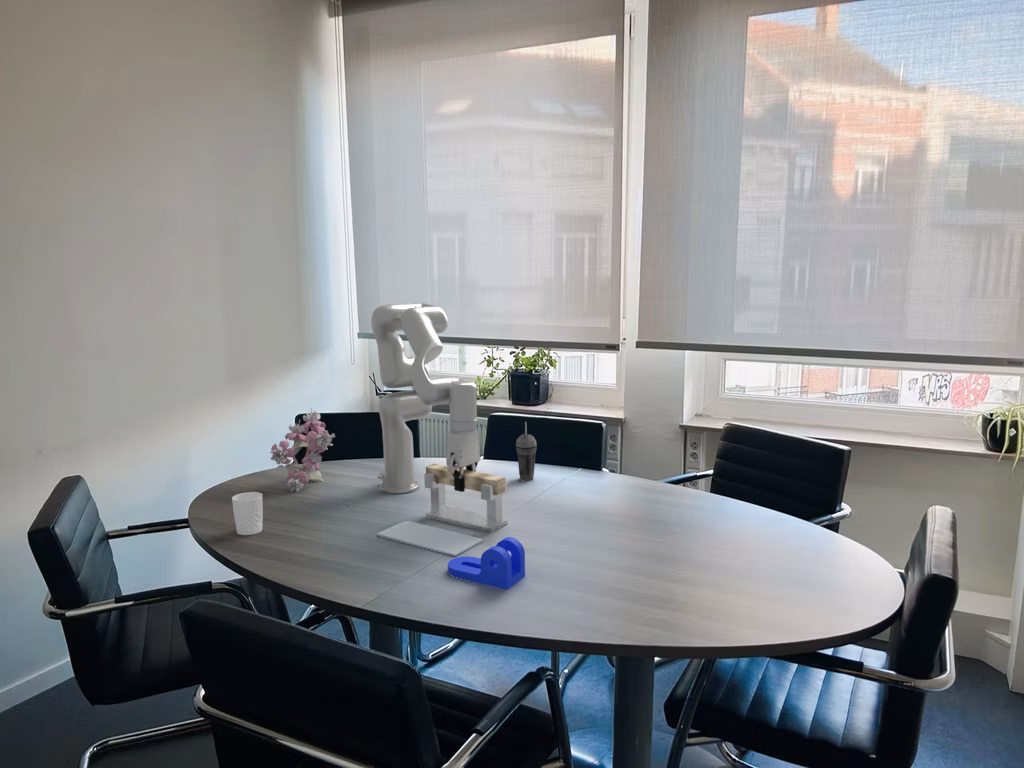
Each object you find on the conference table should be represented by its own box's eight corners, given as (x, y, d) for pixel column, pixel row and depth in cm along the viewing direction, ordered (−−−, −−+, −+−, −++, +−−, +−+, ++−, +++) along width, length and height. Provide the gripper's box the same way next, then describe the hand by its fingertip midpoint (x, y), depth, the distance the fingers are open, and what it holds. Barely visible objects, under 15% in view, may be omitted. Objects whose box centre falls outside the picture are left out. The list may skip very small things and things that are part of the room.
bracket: (525, 576, 170) (524, 539, 168) (507, 590, 162) (506, 552, 161) (460, 562, 178) (459, 527, 177) (441, 574, 171) (440, 538, 170)
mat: (376, 535, 196) (376, 533, 196) (406, 522, 206) (406, 520, 206) (455, 556, 181) (455, 554, 181) (483, 541, 191) (483, 539, 191)
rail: (426, 480, 210) (425, 466, 210) (434, 476, 214) (434, 463, 213) (496, 495, 197) (496, 481, 196) (505, 491, 200) (505, 477, 199)
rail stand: (425, 517, 210) (424, 473, 207) (443, 509, 216) (442, 467, 214) (490, 532, 197) (490, 486, 195) (507, 523, 203) (506, 479, 201)
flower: (250, 479, 244) (256, 419, 231) (307, 458, 260) (315, 402, 248) (284, 515, 234) (292, 454, 222) (341, 491, 251) (352, 433, 238)
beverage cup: (538, 476, 249) (537, 419, 246) (536, 482, 242) (536, 423, 238) (516, 475, 250) (516, 418, 246) (514, 482, 242) (514, 423, 239)
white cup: (271, 528, 202) (268, 493, 201) (250, 538, 195) (247, 502, 194) (249, 524, 206) (247, 490, 204) (228, 534, 199) (225, 498, 197)
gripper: (470, 418, 211) (471, 479, 214) (433, 429, 197) (435, 494, 200) (491, 421, 207) (492, 483, 210) (455, 433, 193) (456, 499, 196)
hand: (464, 487), depth 205 cm, fingers closed on rail, 4 cm apart
